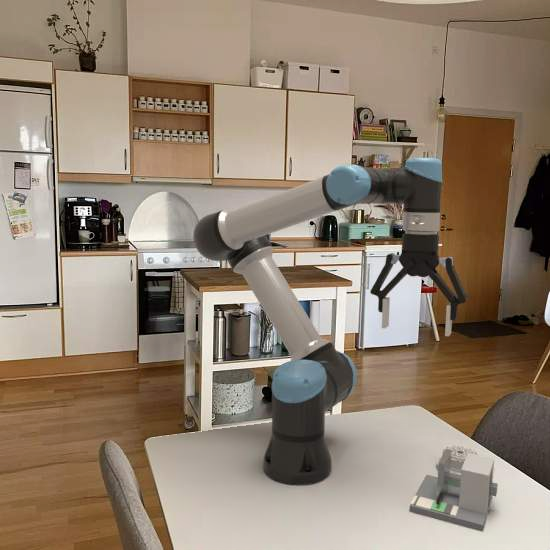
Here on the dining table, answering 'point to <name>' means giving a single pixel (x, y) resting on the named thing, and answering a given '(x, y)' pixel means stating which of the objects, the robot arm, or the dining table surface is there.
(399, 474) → the dining table surface
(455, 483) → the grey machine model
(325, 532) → the dining table surface
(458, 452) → the mechanical component
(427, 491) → the gauge base
